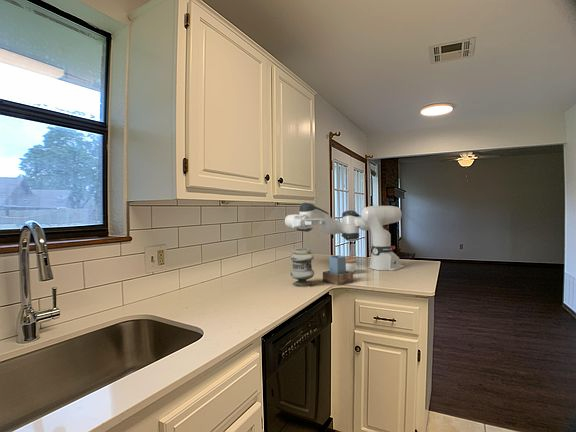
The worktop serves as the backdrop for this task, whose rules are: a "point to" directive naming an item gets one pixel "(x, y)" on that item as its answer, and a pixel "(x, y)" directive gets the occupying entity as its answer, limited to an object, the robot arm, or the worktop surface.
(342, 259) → the slate crate
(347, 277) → the walnut crate
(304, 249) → the apothecary jar
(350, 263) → the lidded jar
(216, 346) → the worktop surface
